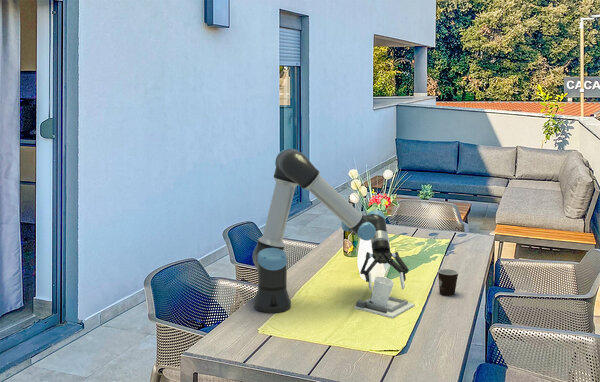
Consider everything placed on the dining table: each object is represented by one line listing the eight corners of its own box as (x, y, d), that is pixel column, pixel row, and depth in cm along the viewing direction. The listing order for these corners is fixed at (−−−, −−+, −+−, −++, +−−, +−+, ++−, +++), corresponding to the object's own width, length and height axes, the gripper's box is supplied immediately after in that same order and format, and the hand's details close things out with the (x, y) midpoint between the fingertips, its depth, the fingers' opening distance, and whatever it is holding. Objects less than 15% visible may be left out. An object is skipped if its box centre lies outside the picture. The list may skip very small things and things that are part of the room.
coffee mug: (457, 297, 270) (458, 275, 268) (437, 296, 272) (438, 274, 270) (456, 289, 281) (457, 267, 280) (436, 288, 283) (437, 266, 281)
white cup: (389, 308, 255) (395, 286, 253) (370, 304, 255) (376, 282, 253) (386, 300, 263) (392, 278, 261) (368, 296, 263) (373, 275, 260)
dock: (354, 308, 257) (354, 301, 256) (377, 296, 271) (377, 290, 270) (392, 318, 246) (392, 311, 245) (414, 305, 260) (414, 299, 259)
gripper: (406, 247, 274) (414, 291, 262) (350, 248, 272) (355, 292, 260) (410, 238, 268) (418, 283, 256) (352, 239, 266) (358, 284, 253)
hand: (387, 288), depth 258 cm, fingers open, 13 cm apart
